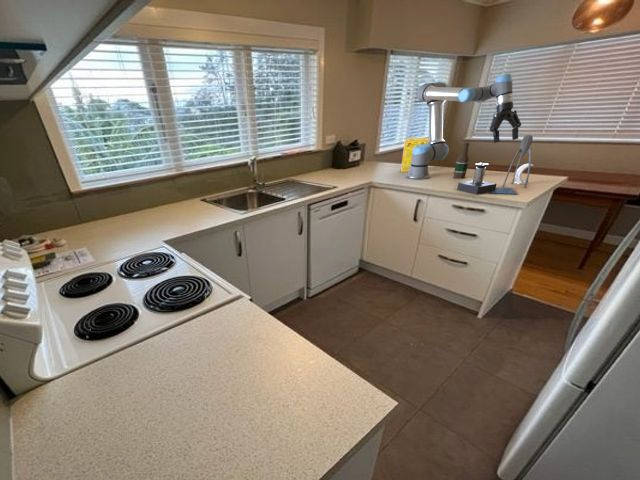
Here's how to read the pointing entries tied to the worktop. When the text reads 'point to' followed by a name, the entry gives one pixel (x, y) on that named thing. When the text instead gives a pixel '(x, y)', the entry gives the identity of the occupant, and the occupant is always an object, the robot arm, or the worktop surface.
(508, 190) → the mat
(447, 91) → the robot arm
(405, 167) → the packaging box
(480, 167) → the blade unit
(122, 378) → the worktop surface
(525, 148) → the citrus juicer
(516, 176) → the curved silver pipe
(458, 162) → the beer bottle
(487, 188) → the blender base
